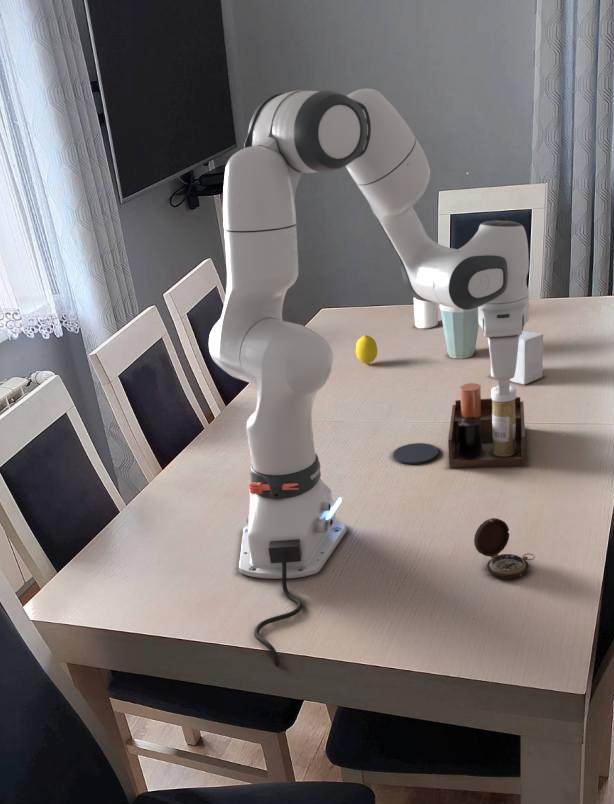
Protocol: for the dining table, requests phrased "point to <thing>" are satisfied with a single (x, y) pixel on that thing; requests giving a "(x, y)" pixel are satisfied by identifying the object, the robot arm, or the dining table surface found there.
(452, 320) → the disposable coffee cup
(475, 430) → the black spice tin
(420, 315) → the can
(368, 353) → the lemon
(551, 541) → the dining table surface
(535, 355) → the cosmetics box
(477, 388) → the terracotta spice jar
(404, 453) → the coaster
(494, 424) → the sprinkles bottle
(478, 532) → the compass
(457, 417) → the spice rack
